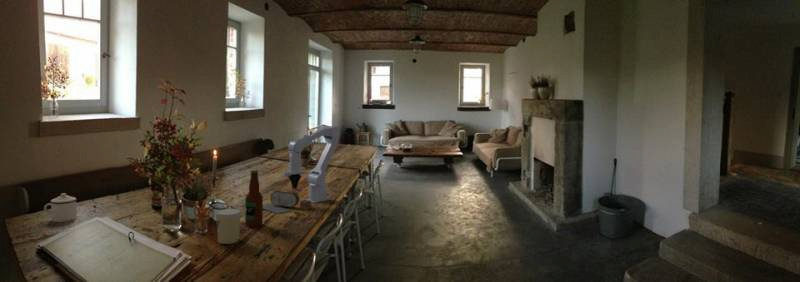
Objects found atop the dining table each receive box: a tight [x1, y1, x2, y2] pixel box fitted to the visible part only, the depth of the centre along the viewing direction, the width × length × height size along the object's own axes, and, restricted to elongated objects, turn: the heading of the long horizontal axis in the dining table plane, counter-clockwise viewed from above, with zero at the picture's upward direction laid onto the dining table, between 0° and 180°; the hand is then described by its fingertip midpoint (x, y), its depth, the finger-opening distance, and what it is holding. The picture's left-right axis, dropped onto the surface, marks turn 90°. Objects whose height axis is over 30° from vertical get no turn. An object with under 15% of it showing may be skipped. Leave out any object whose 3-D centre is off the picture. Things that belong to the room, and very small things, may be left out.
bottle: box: [244, 169, 264, 228], centre depth 190 cm, size 7×7×25 cm
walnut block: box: [299, 199, 312, 211], centre depth 223 cm, size 4×4×4 cm
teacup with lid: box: [43, 192, 78, 223], centre depth 186 cm, size 12×9×12 cm
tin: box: [270, 189, 300, 208], centre depth 223 cm, size 15×3×8 cm, turn 84°
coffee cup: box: [215, 208, 242, 245], centre depth 170 cm, size 9×9×12 cm
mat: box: [262, 203, 292, 215], centre depth 219 cm, size 8×18×1 cm, turn 50°
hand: (294, 188), depth 227 cm, fingers closed
